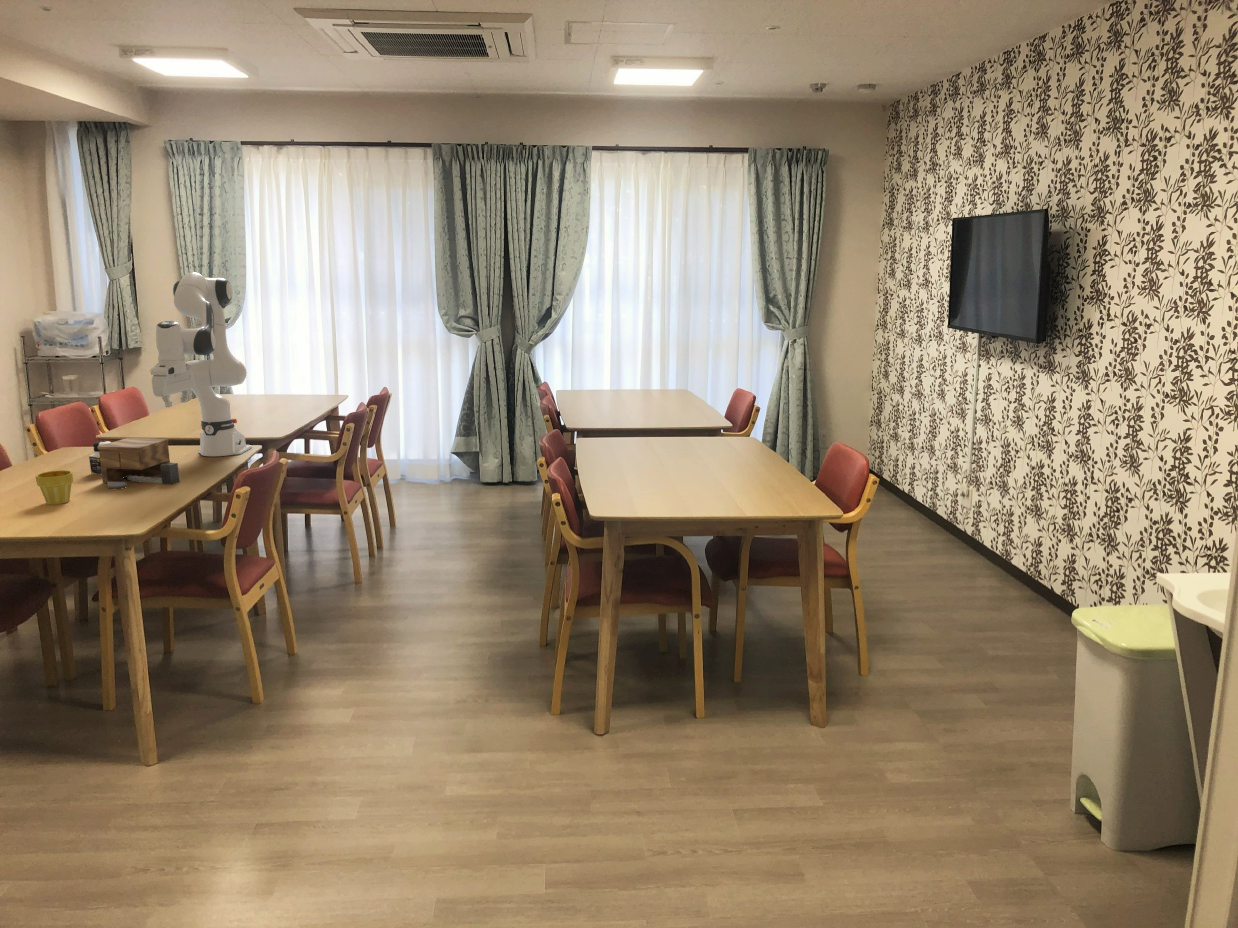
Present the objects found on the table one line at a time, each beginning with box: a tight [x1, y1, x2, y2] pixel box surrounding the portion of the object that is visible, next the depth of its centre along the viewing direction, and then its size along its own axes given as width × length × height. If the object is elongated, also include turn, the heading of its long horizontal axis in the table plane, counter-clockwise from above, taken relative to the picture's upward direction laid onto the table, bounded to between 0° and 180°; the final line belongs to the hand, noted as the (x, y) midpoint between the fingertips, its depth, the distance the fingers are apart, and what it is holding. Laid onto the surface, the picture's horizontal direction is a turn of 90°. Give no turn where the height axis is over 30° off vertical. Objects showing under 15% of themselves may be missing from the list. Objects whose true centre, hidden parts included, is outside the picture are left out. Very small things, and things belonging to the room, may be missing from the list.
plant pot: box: [35, 469, 74, 506], centre depth 300 cm, size 10×10×10 cm
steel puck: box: [106, 478, 128, 490], centre depth 321 cm, size 6×6×2 cm
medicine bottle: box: [88, 440, 111, 476], centre depth 342 cm, size 7×7×12 cm
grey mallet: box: [126, 462, 181, 485], centre depth 330 cm, size 4×20×7 cm, turn 73°
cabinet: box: [97, 437, 171, 484], centre depth 333 cm, size 17×16×14 cm
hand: (176, 404), depth 333 cm, fingers open, 8 cm apart
